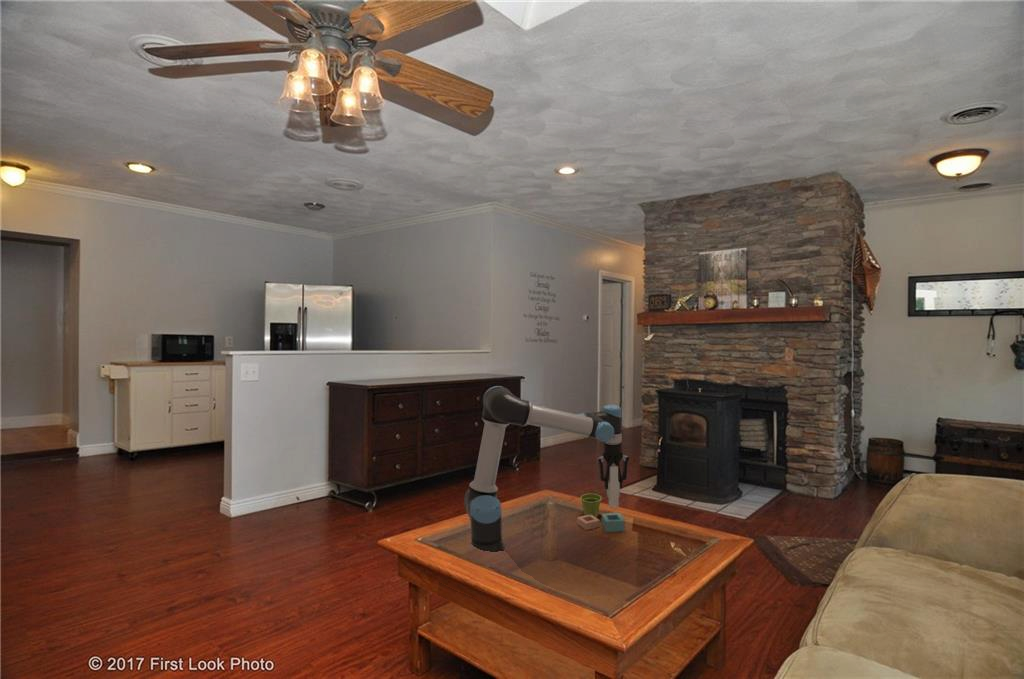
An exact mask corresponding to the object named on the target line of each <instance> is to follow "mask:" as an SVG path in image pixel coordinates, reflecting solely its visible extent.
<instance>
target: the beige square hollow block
mask: <svg viewBox="0 0 1024 679" xmlns="http://www.w3.org/2000/svg"><path fill="white" fill-rule="evenodd" d="M576 519H577V520H576V522H577V523H576V524H577V525H578V526H580V528H582V529H583V530H585V531H588V530H593V529H597V528H600V527H601V522H600V519H599V518H598V517H594V516H593V515H592V514H590V515H585V516H584V515H582V516H577V518H576Z"/></svg>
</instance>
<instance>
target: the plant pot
mask: <svg viewBox="0 0 1024 679" xmlns="http://www.w3.org/2000/svg"><path fill="white" fill-rule="evenodd" d="M579 498H580V500H581V503H582V509H583V510H582V511H583V514H584V515H583V516H585V515H590V514H592V515H593V516H594V517H596V518H598V517H599V511H600V505H601V501H602V499H603V498H602V496H601V495H599V494H596V493H585V494H582V495H581V496H580V497H579Z"/></svg>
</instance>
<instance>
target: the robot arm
mask: <svg viewBox="0 0 1024 679" xmlns="http://www.w3.org/2000/svg"><path fill="white" fill-rule="evenodd" d="M482 397H483V398H482V405H483V410H482V416H481V420H482V421H483V423H484V424H483V425H484V426H483V431H482V435H481V436H482V437H481V442H480V447H479V452H478V458H477V462H476V468H475V472H474V473H475V474H474V478H473V480H472V481H471V482H469V485H468V490H467V491H466V493H465V495H464V500H463V501H464V502H463V503H464V508H465V510H466V512H467V515H468V518H469V521H470V533H471V534H470V535H471V537H470V538H471V541H470V545H471V544H472V545H473V546H474V547H476V548H478V549H480V550H483V551H490V552H498V551H504V550H505V549H506V547H505V544H504V542H503V529H502V526H503V524H502V521H503V520H502V511H503V510H502V504H501V501H500V500H499V499H498V497H497V495H498V491H499V490H498V489H499V488H498V486H497V484H496V480H497V477H498V476H497V475H498V469H499V465H500V460H501V456H502V448H503V443H504V439H505V432H506V428H507V427H509V425H510V424H511V425H514V426H516V425H517V426H521V427H525V426H527V425H530V426H535V427H540V428H545V429H550V430H554V431H558V432H559V431H560V432H563V433H567V434H574V435H578V436H582V437H587V438H592V439H596V440H598V441H599V442H603V453H602V456H597V457H596V460H597V461H598V469H599V478H600V481H601V482H604V489H605V490H606V496H607V497H608V498H609V497H610V482H609V474H610V467H611V465H612V464H614V463H615V464H616V466H618V498H620V497H621V496H620V495H621V493H620V492H621V490H620V489H622V488H623V481H625V480H627V476H628V474H627V473H628V472H627V471H628V463H629V460H630V458H629V456H628V455H625V454H623V443H622V440H623V439H622V438H623V436H622V433H623V432H622V423H623V422H622V418H623V416H622V408H621V407H620V406H619V405H615V404H607V405H604V406H603V407H602V411H595V412H593V411H592V412H582V413H576V414H575V413H571V412H567V411H562V410H558V409H554V408H550V407H545V406H539V405H536V404H532V403H531V401H529V400H526V399H522V398H520V397H517V396H516V395H515V394H513V393H512V392H511V390H510V389H508V388H507V387H504V386H501V385H495V386H492V387H490V388H488V389H487V390H486V391H485V392H484V394H483V396H482ZM621 460H622V470H621V465H620V462H621ZM604 461H606V464H605V465H606V466H605V471H604V464H603V462H604ZM621 471H622V472H621ZM604 472H605V473H604Z"/></svg>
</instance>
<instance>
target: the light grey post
mask: <svg viewBox="0 0 1024 679" xmlns="http://www.w3.org/2000/svg"><path fill="white" fill-rule="evenodd" d="M609 482H610V497H608V506H609V508H610V509H615V508H616V509H617V508H618V509H619V506H620V505H619V504H620V503H619V497H618V466H616V464H615V463H614V464H612V465H611V467H610V474H609Z"/></svg>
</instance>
